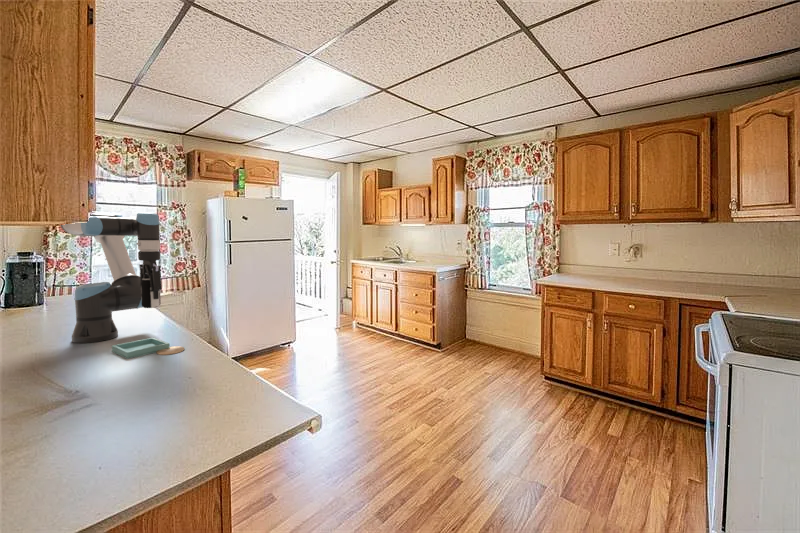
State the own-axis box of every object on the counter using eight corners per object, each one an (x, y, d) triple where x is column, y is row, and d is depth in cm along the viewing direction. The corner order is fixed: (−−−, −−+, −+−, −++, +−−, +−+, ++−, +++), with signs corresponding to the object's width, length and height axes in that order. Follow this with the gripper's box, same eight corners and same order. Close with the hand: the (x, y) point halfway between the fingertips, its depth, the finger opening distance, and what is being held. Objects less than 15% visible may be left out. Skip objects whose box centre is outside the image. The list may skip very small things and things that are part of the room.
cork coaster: (152, 351, 139) (152, 350, 138) (177, 346, 146) (177, 345, 146) (163, 356, 134) (163, 355, 133) (188, 350, 141) (188, 349, 141)
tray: (111, 351, 138) (111, 345, 138) (153, 343, 150) (153, 337, 150) (127, 358, 131) (127, 352, 130) (169, 349, 142) (169, 343, 142)
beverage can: (143, 305, 155) (142, 277, 154) (161, 304, 158) (160, 277, 157) (140, 308, 149) (138, 279, 148) (159, 307, 152) (158, 279, 151)
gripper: (128, 249, 154) (131, 304, 156) (149, 251, 143) (151, 310, 145) (148, 249, 160) (150, 301, 162) (170, 251, 149) (172, 307, 151)
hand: (151, 305), depth 154 cm, fingers closed on beverage can, 7 cm apart
